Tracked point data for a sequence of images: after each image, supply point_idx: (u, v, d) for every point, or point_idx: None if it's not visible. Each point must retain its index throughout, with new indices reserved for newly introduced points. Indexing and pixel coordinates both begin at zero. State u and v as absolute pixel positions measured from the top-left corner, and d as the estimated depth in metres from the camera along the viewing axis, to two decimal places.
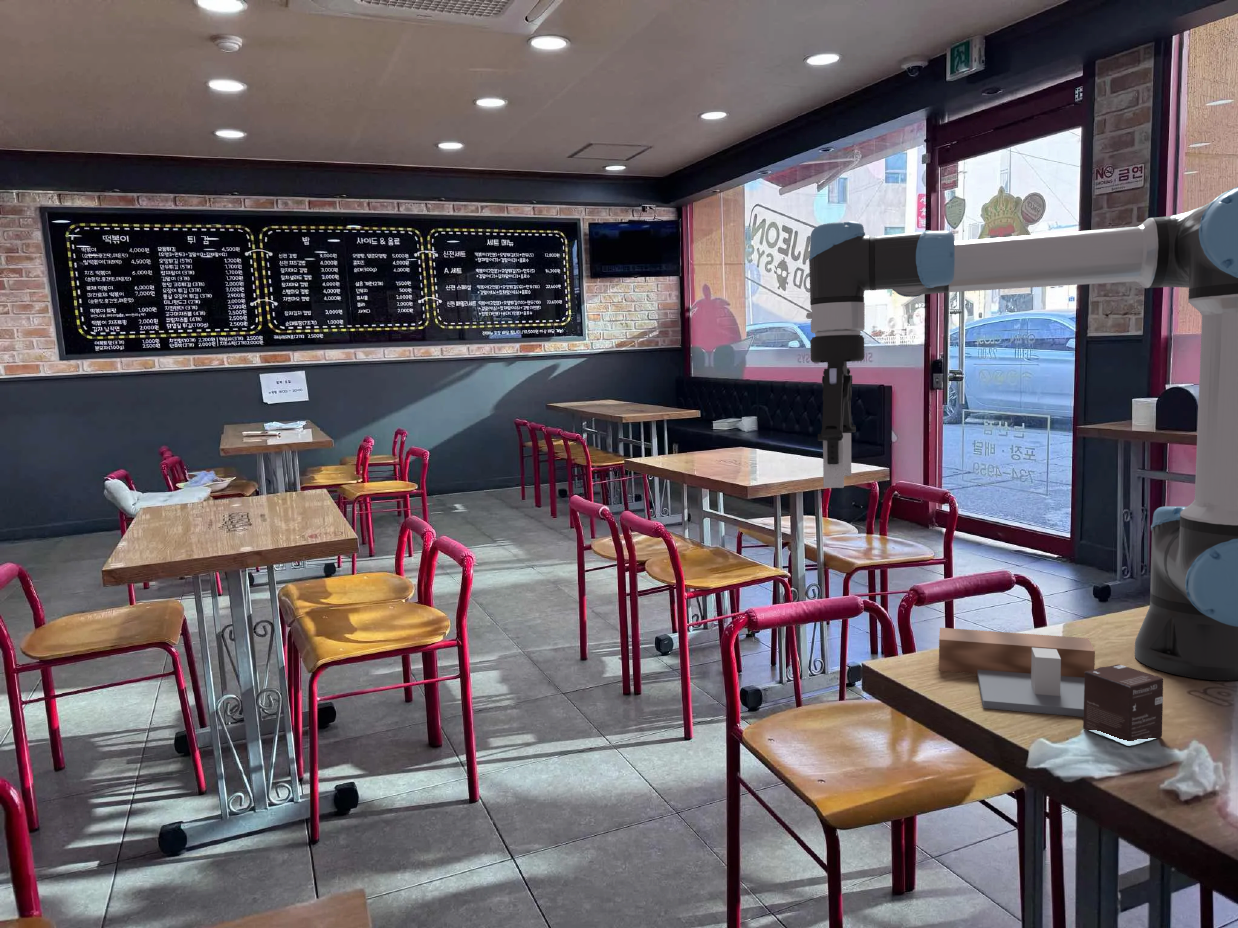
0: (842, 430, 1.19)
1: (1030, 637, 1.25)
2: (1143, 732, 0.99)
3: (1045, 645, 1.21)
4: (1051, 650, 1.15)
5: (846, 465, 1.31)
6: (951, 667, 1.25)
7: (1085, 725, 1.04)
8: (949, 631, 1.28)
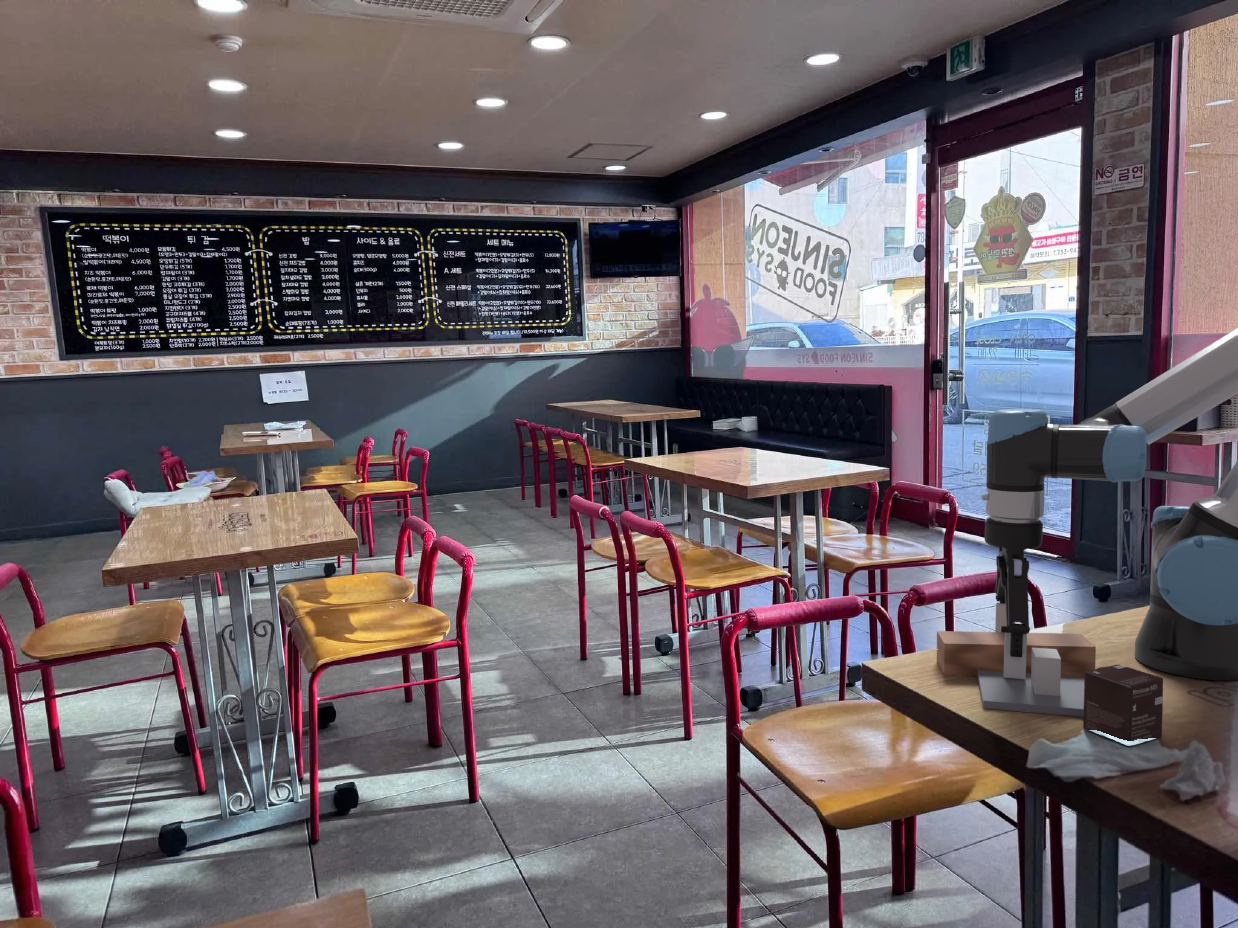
0: None
1: (1027, 635, 1.25)
2: (1143, 732, 0.99)
3: (1047, 643, 1.22)
4: (1051, 650, 1.15)
5: None
6: (956, 671, 1.23)
7: (1085, 725, 1.04)
8: (949, 635, 1.27)
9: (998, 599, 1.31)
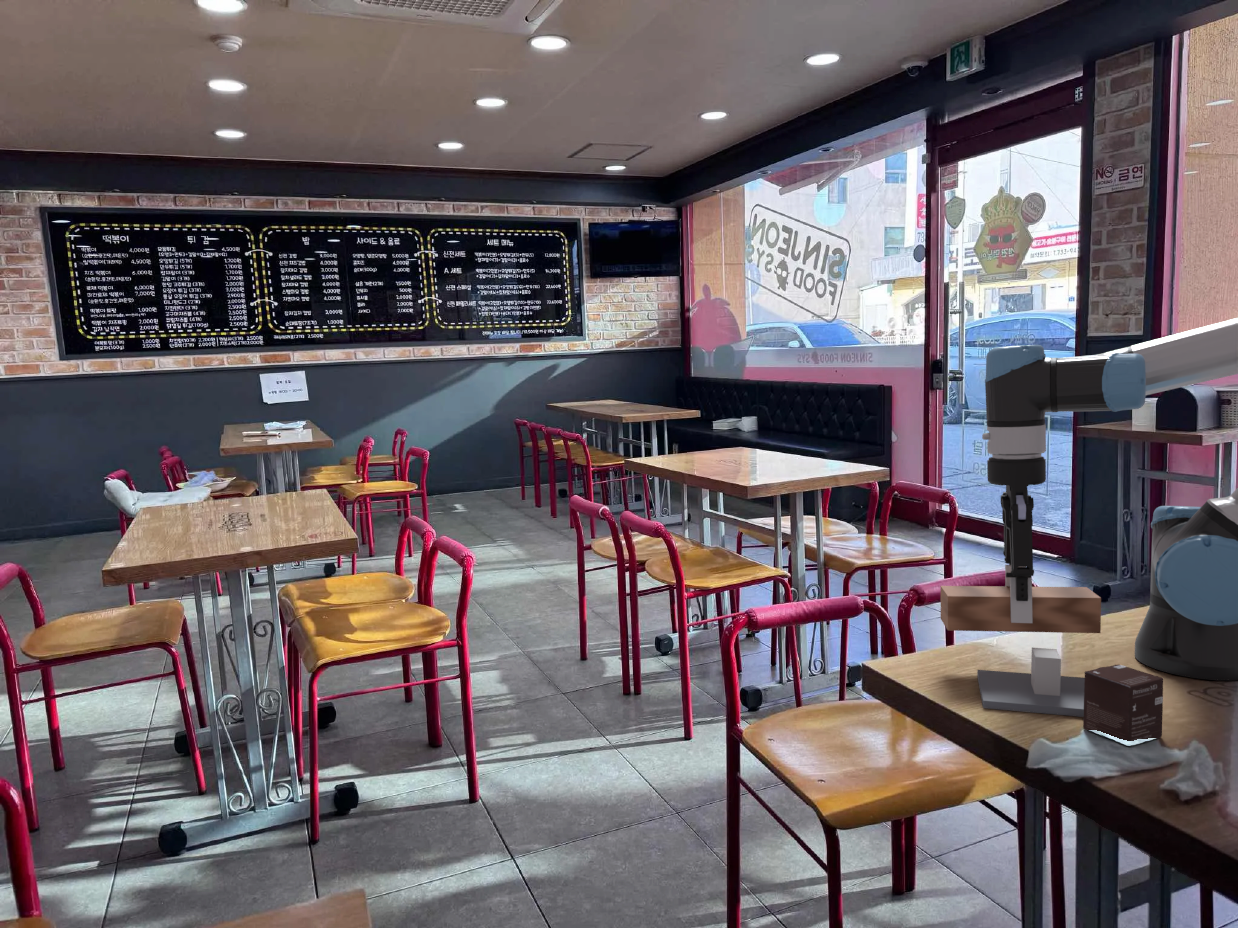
0: None
1: (1032, 589, 1.24)
2: (1143, 732, 0.99)
3: (1051, 595, 1.20)
4: (1051, 650, 1.15)
5: None
6: (960, 624, 1.22)
7: (1085, 725, 1.04)
8: (953, 589, 1.26)
9: (1007, 559, 1.27)
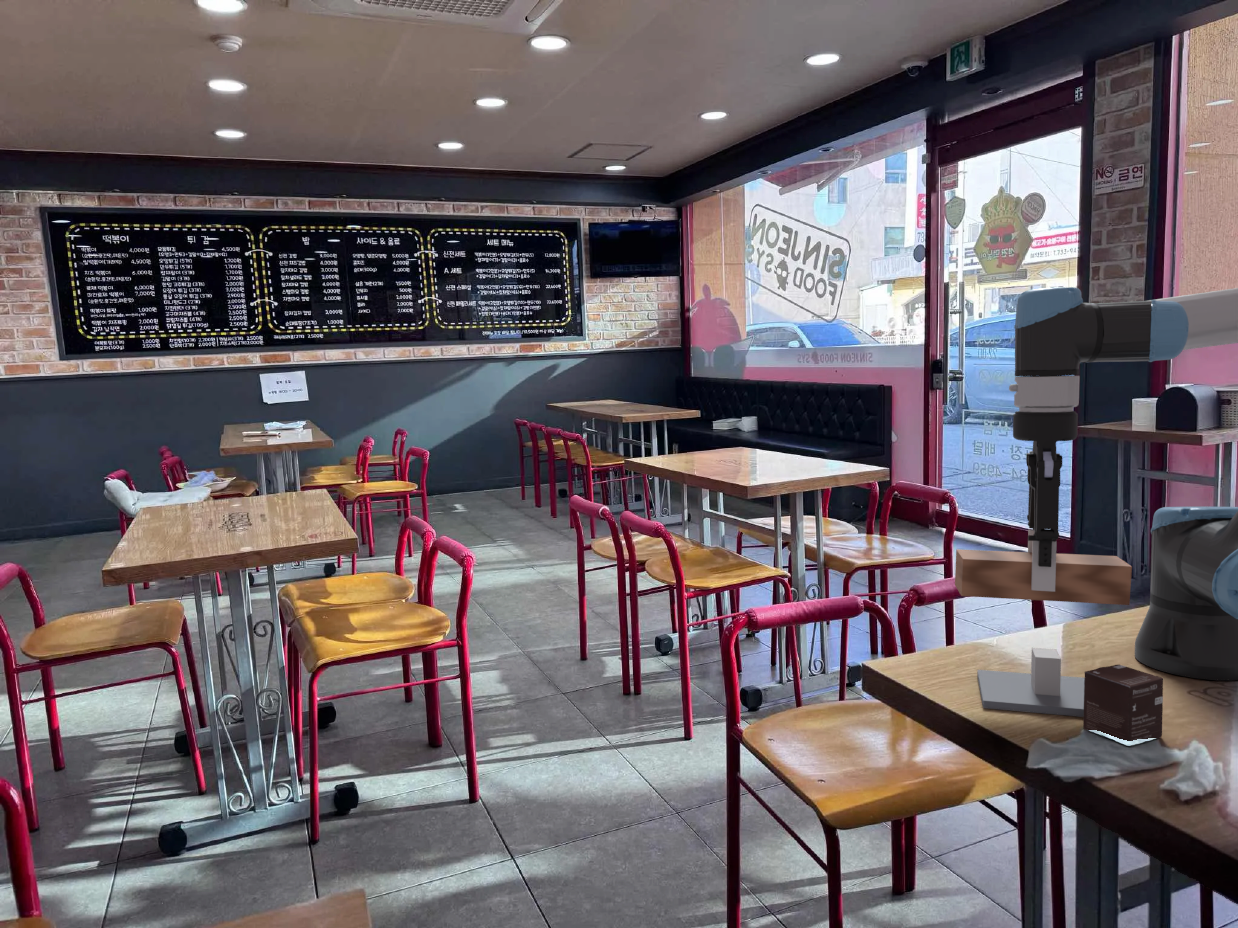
0: None
1: (1056, 555, 1.14)
2: (1143, 732, 0.99)
3: (1077, 562, 1.11)
4: (1051, 650, 1.15)
5: None
6: (975, 590, 1.13)
7: (1085, 725, 1.04)
8: (969, 552, 1.17)
9: (1031, 523, 1.17)
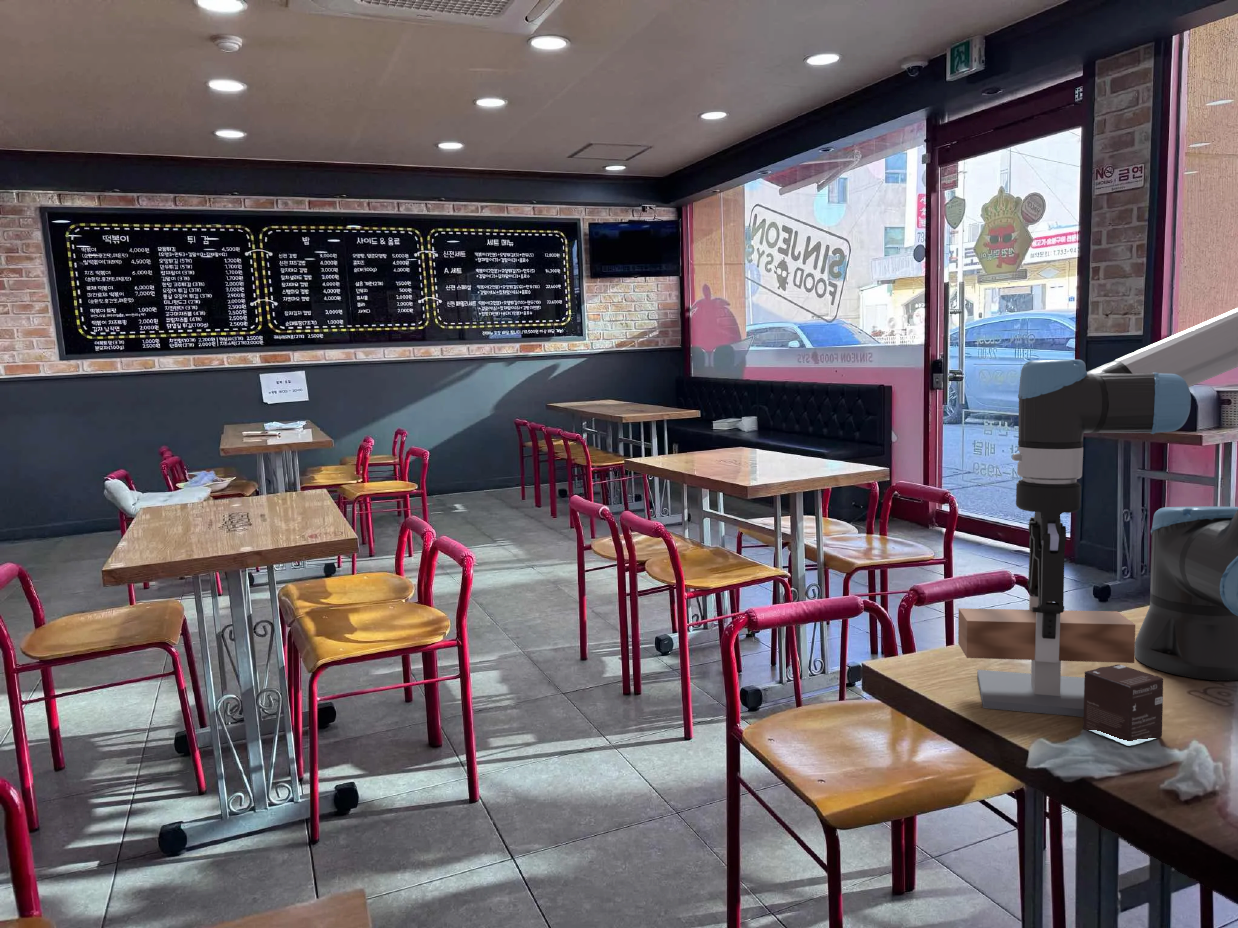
0: None
1: None
2: (1143, 732, 0.99)
3: (1080, 621, 1.11)
4: None
5: None
6: (980, 652, 1.12)
7: (1085, 725, 1.04)
8: (972, 612, 1.16)
9: (1032, 590, 1.17)
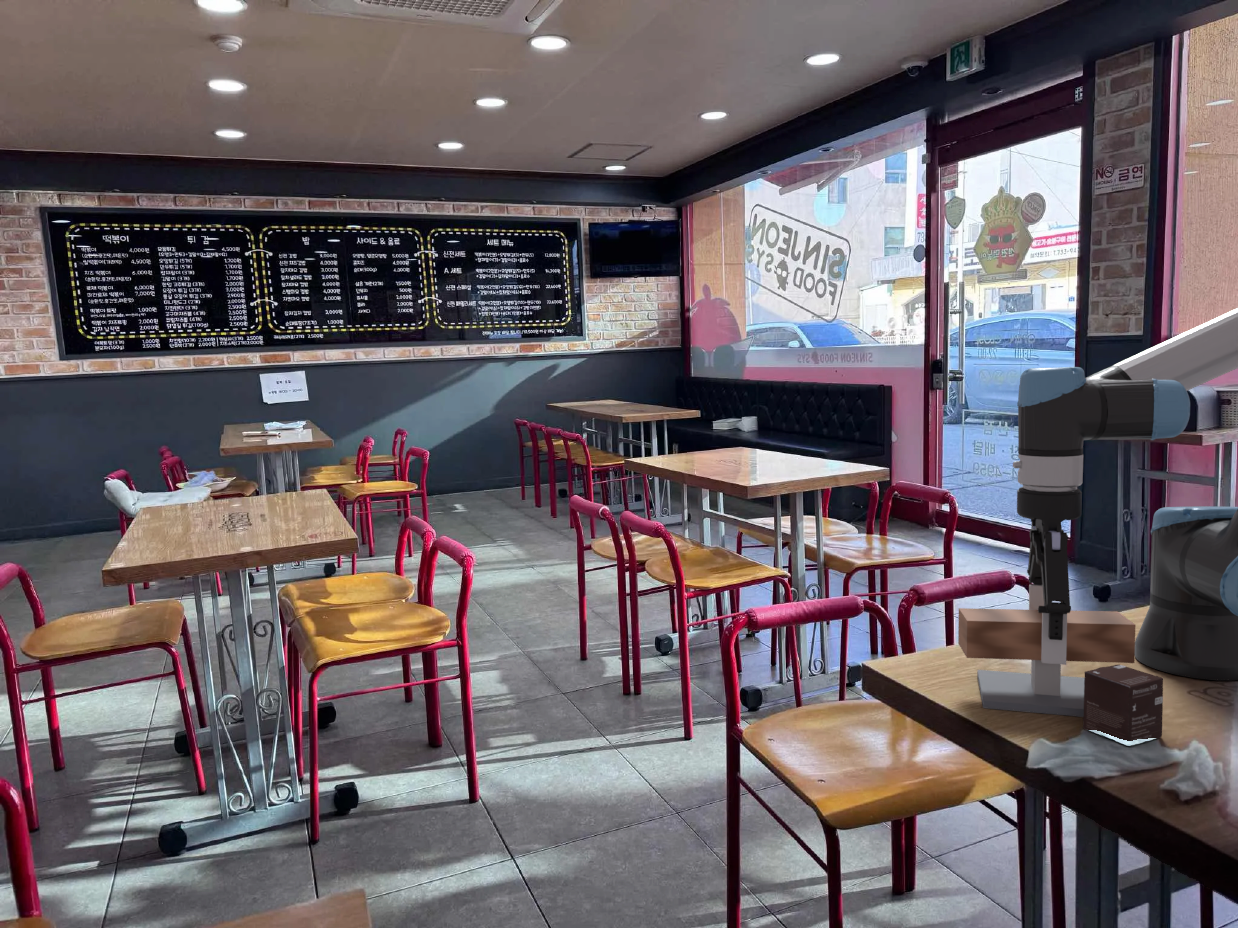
0: None
1: None
2: (1143, 732, 0.99)
3: (1080, 621, 1.11)
4: None
5: None
6: (980, 651, 1.13)
7: (1085, 725, 1.04)
8: (972, 612, 1.16)
9: (1031, 580, 1.20)
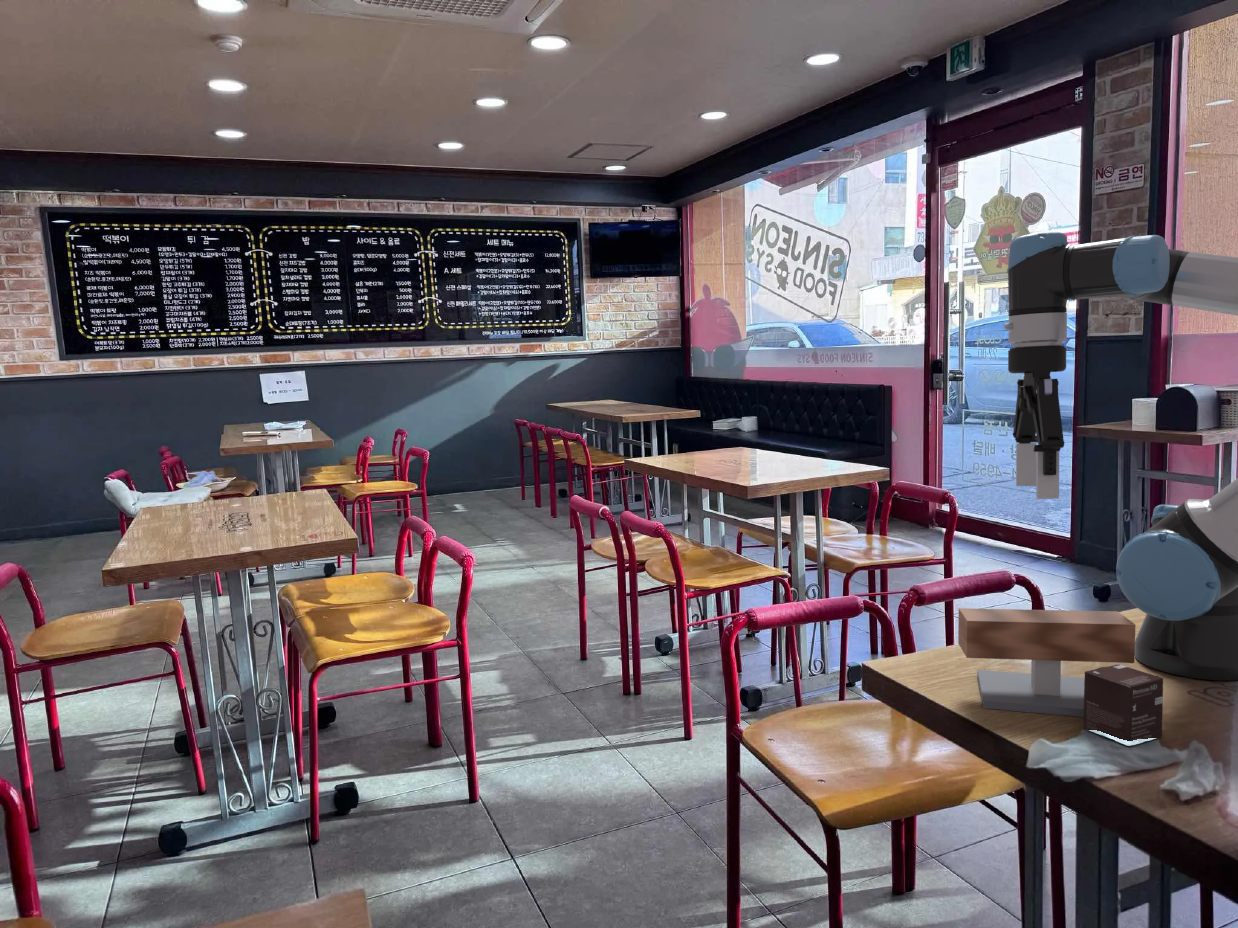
0: None
1: (1059, 613, 1.14)
2: (1143, 732, 0.99)
3: (1080, 621, 1.11)
4: None
5: (1031, 476, 1.31)
6: (980, 651, 1.13)
7: (1085, 725, 1.04)
8: (972, 612, 1.16)
9: (1018, 439, 1.32)
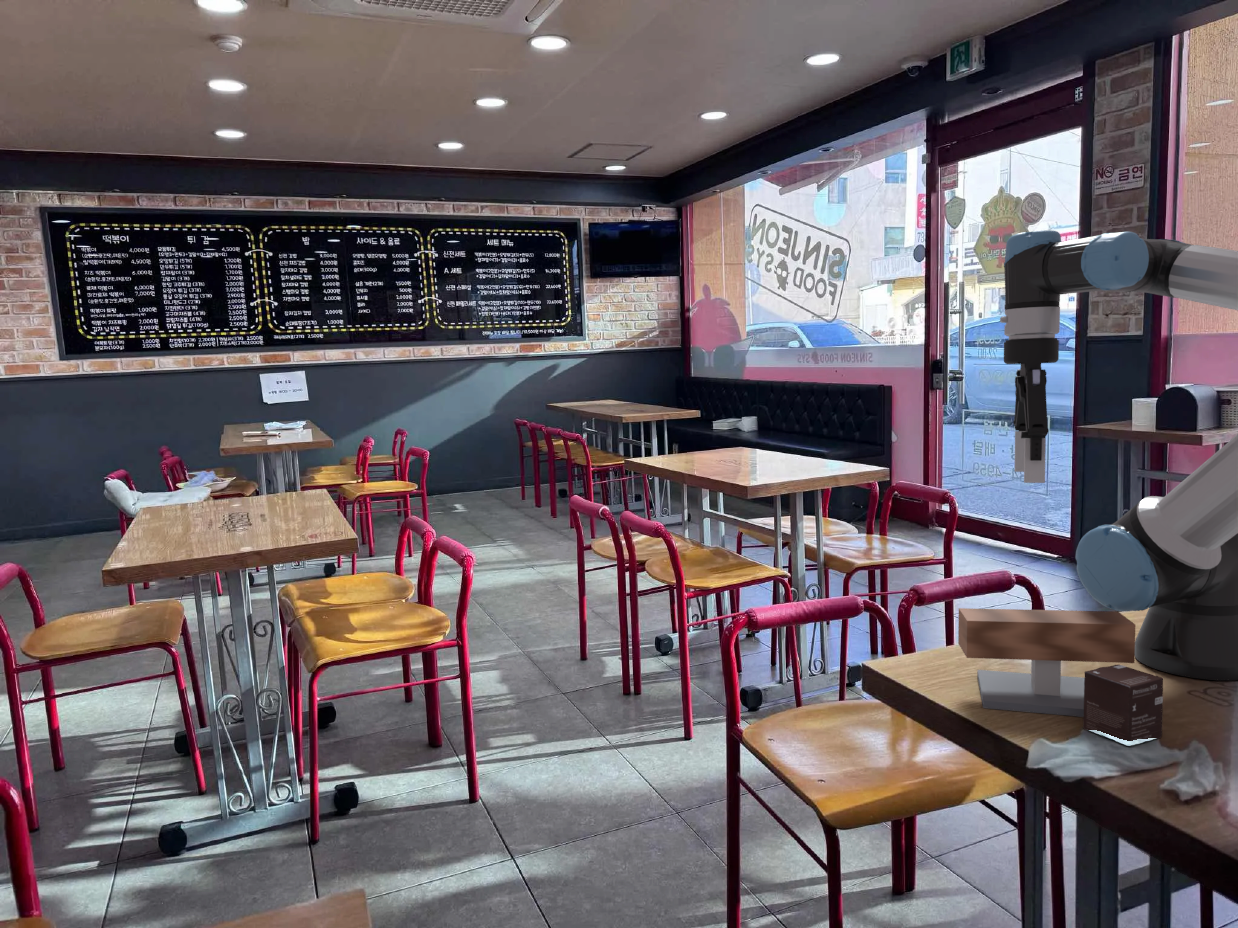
0: None
1: (1059, 613, 1.14)
2: (1143, 732, 0.99)
3: (1080, 621, 1.11)
4: None
5: None
6: (980, 651, 1.13)
7: (1085, 725, 1.04)
8: (972, 612, 1.16)
9: (1017, 427, 1.38)
